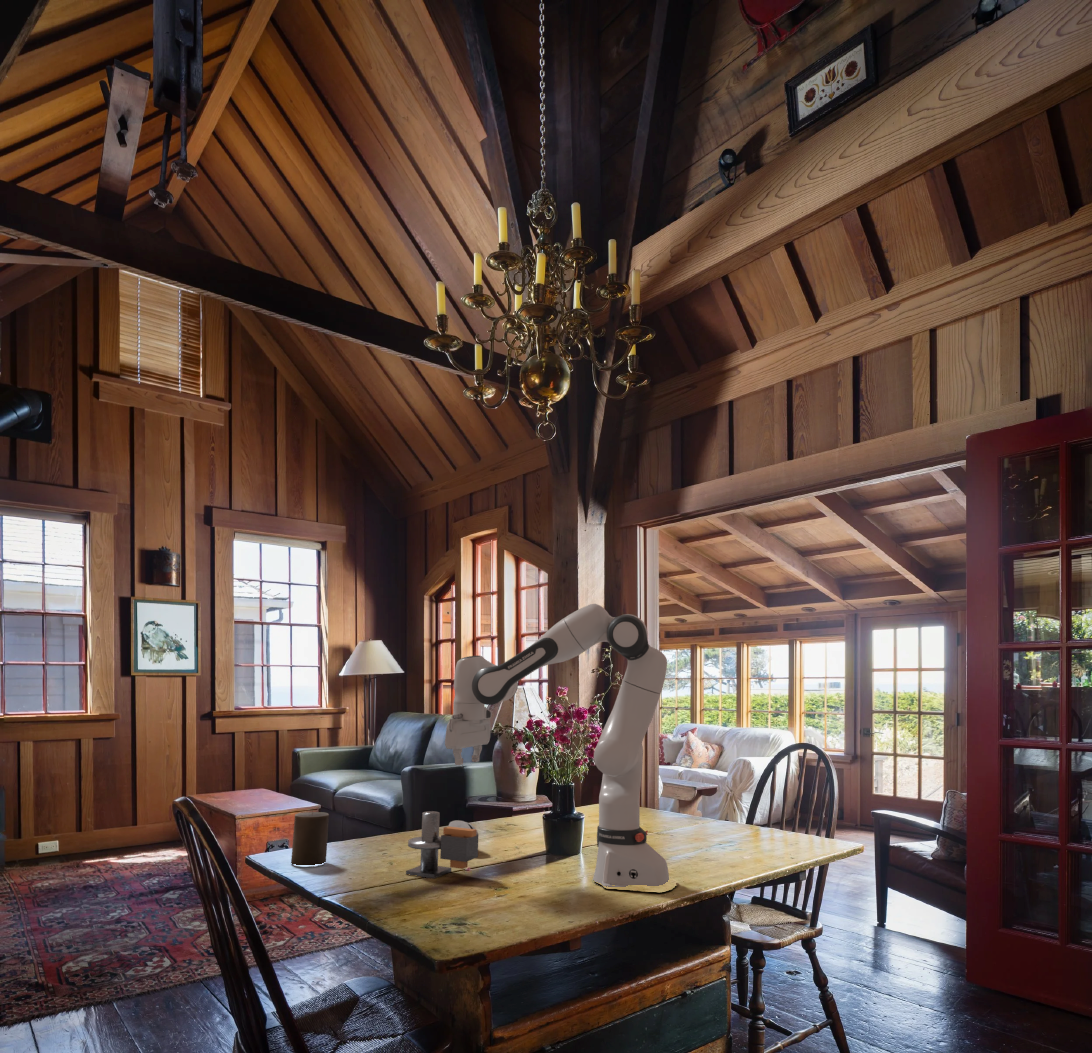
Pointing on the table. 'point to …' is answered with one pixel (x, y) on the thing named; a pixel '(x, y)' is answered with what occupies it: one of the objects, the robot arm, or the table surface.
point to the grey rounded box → (461, 825)
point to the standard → (448, 844)
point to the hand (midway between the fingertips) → (467, 763)
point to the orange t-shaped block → (459, 833)
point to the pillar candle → (310, 838)
